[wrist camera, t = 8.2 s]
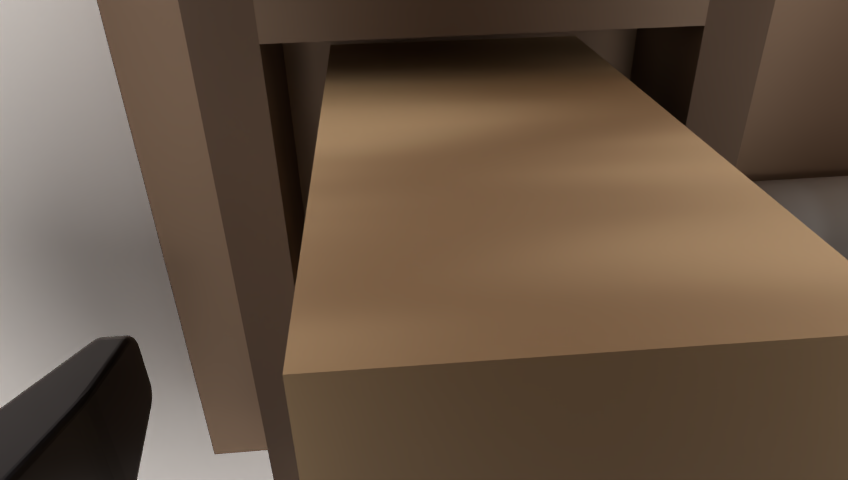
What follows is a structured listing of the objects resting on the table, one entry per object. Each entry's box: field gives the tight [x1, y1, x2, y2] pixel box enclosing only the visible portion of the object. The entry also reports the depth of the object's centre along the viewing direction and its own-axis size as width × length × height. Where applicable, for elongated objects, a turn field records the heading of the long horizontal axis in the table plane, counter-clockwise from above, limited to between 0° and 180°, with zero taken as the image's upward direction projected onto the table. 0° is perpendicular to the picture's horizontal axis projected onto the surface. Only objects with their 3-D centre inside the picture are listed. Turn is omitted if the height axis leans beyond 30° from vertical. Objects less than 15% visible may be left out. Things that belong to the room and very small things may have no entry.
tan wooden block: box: [282, 36, 848, 480], centre depth 8 cm, size 4×6×7 cm, turn 1°
